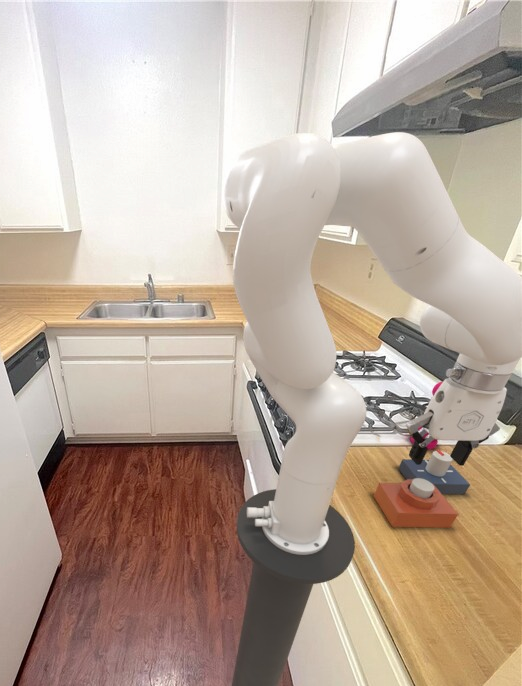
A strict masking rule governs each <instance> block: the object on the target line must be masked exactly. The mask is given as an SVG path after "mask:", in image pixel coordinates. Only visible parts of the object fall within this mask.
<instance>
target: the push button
mask: <svg viewBox="0 0 522 686" xmlns="http://www.w3.org/2000/svg"><path fill="white" fill-rule="evenodd" d="M409 490H410V492H411V493H413V494H414V495H416V496H418V497H421V498H429V497H430V496H431V495H432V493H433V491H434V485H433V484H432V483H431V482H429V481H427V480H425V479H421V478H415V479H413V480H412V483H411V485H410V487H409Z"/></svg>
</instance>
